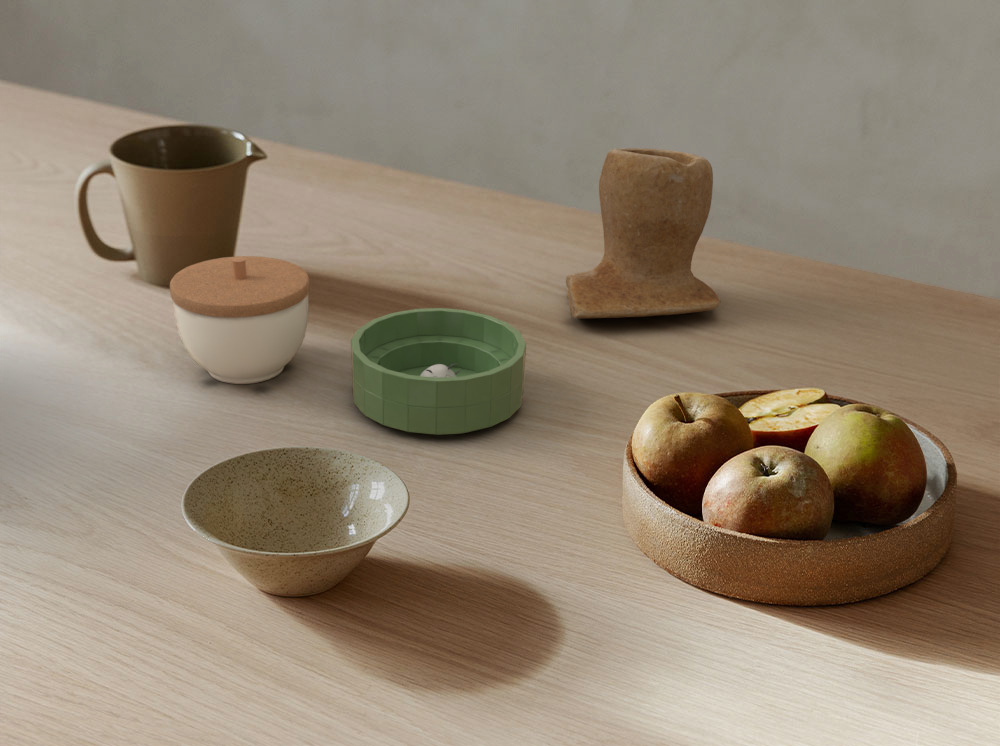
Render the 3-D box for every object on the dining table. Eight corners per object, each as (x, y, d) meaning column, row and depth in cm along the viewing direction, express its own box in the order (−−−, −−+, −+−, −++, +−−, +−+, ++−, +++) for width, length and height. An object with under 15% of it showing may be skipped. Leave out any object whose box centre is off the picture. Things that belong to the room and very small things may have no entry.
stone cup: (682, 278, 112) (700, 131, 105) (732, 325, 102) (754, 165, 95) (539, 287, 109) (547, 135, 102) (575, 336, 98) (587, 171, 92)
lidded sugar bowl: (165, 352, 92) (154, 246, 88) (289, 332, 97) (284, 230, 93) (196, 408, 84) (185, 293, 80) (331, 383, 88) (327, 273, 84)
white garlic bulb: (468, 398, 85) (469, 368, 84) (418, 405, 84) (418, 375, 83) (455, 381, 88) (455, 351, 87) (406, 387, 87) (407, 357, 86)
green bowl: (359, 447, 79) (358, 385, 77) (347, 367, 91) (346, 311, 89) (538, 436, 82) (542, 375, 80) (504, 359, 93) (507, 304, 91)
